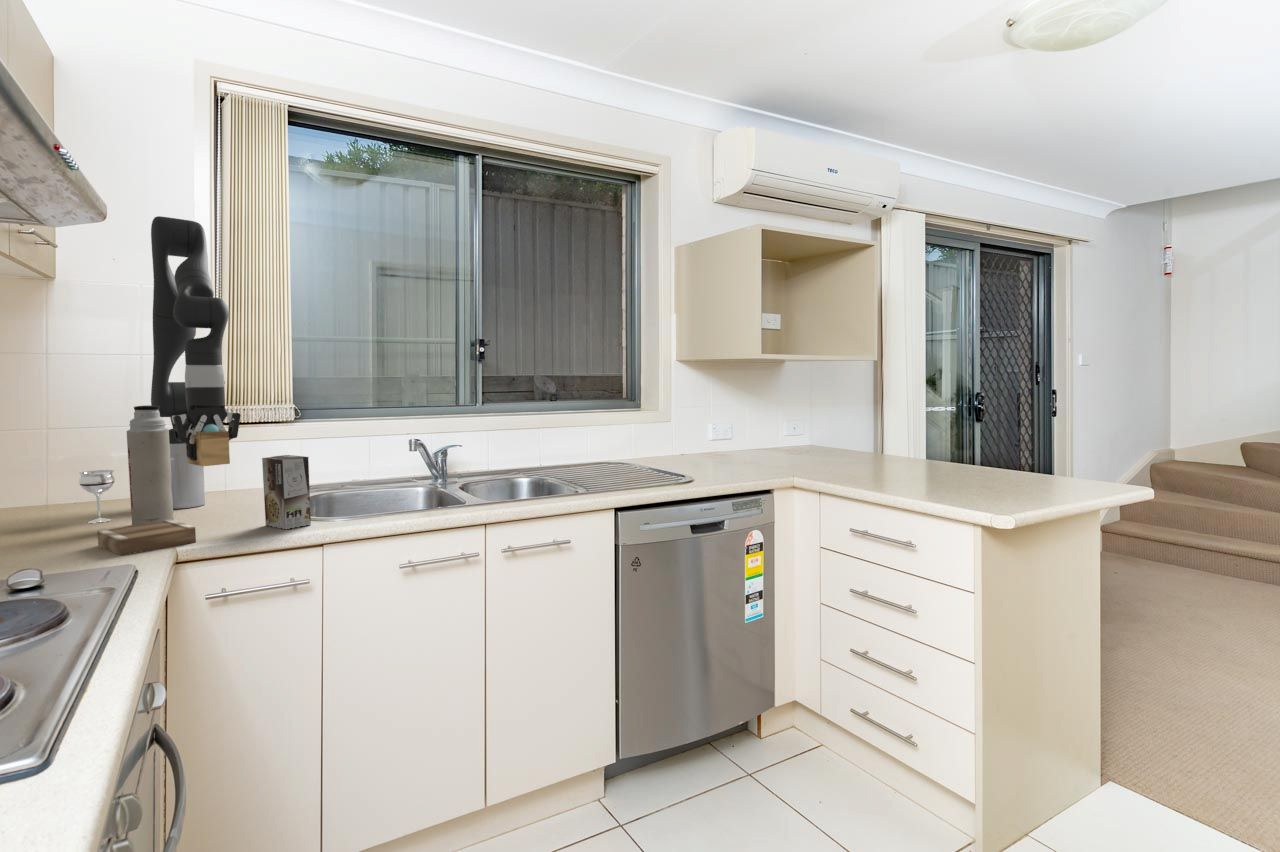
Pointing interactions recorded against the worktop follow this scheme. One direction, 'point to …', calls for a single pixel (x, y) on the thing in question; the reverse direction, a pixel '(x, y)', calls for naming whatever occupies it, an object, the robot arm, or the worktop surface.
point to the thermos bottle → (149, 467)
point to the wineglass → (97, 486)
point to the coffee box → (286, 491)
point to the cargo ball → (210, 428)
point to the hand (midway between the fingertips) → (208, 458)
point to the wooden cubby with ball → (211, 448)
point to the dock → (146, 537)
